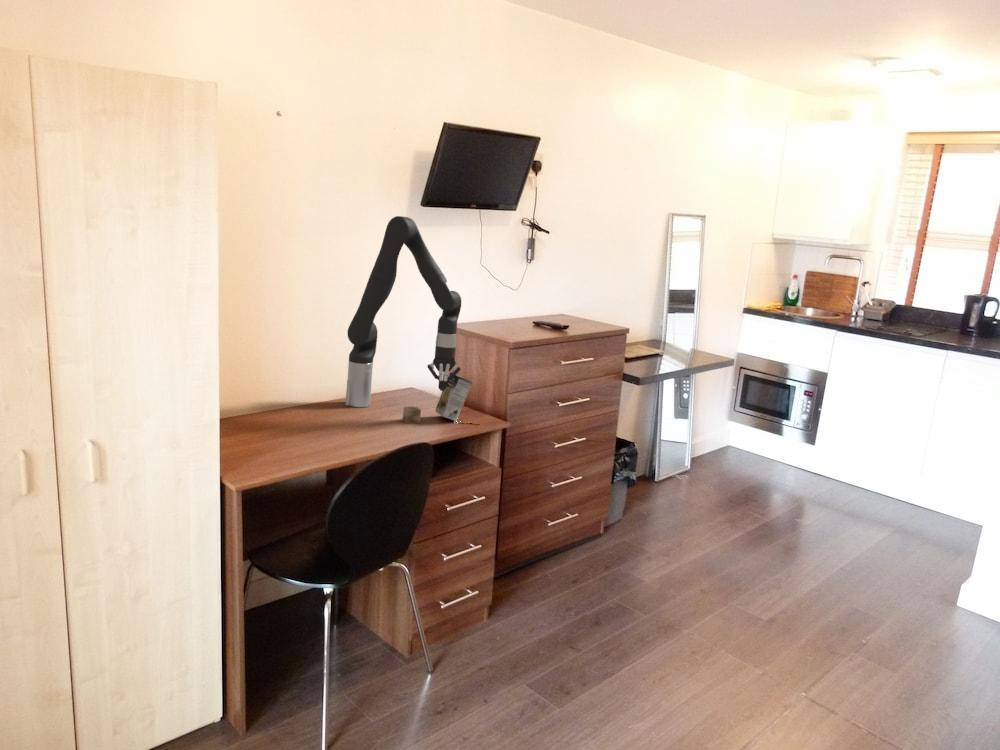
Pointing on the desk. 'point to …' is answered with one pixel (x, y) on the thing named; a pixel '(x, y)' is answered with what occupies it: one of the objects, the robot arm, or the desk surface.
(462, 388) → the coffee box
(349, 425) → the desk surface
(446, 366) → the robot arm
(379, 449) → the desk surface
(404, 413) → the walnut block
